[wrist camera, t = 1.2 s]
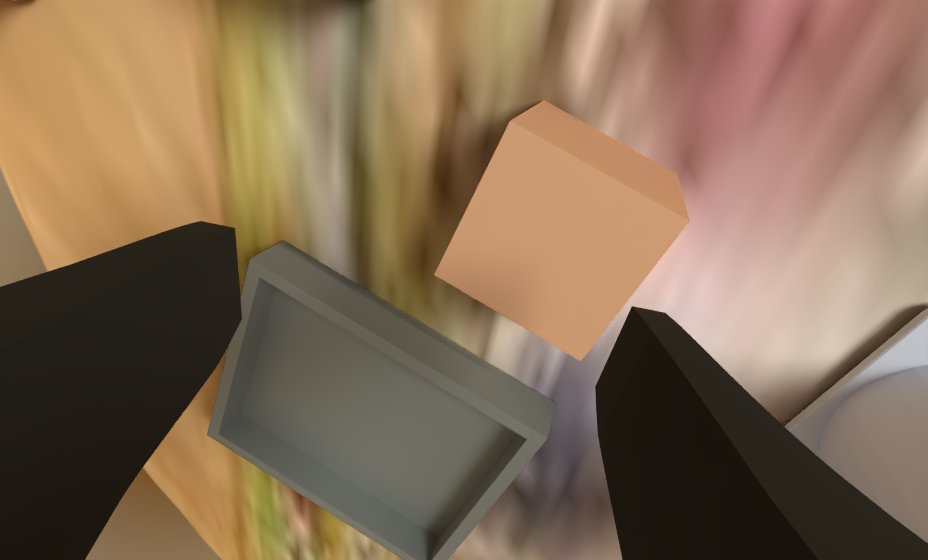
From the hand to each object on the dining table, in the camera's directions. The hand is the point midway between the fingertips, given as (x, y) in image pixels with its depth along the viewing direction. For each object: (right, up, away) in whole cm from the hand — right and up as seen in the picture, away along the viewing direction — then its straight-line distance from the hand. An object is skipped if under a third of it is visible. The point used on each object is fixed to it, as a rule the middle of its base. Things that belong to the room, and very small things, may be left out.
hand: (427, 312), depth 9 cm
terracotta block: (+4, +3, +9) cm, 10 cm away
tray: (-4, -6, +16) cm, 17 cm away
